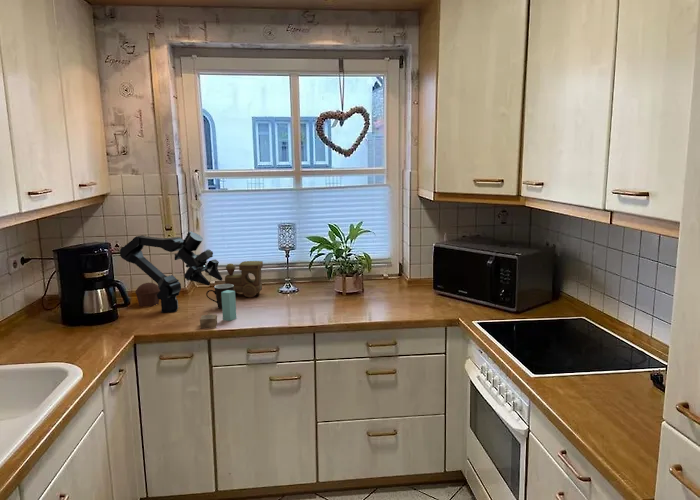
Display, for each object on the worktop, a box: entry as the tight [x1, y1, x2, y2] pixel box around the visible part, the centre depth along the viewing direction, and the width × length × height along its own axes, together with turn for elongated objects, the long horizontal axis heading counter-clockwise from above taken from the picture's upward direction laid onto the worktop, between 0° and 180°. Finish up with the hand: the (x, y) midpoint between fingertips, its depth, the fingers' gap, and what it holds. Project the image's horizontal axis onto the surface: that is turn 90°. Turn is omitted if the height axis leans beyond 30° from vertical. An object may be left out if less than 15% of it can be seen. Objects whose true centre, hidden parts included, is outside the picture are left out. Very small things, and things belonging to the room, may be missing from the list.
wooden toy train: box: [224, 260, 264, 299], centre depth 262 cm, size 20×11×17 cm, turn 87°
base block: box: [199, 313, 218, 330], centre depth 216 cm, size 6×6×4 cm
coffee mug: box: [205, 283, 234, 310], centre depth 242 cm, size 12×9×10 cm
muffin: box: [134, 282, 160, 307], centre depth 249 cm, size 12×11×10 cm
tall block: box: [221, 290, 237, 322], centre depth 224 cm, size 4×4×12 cm
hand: (215, 282), depth 228 cm, fingers open, 9 cm apart
